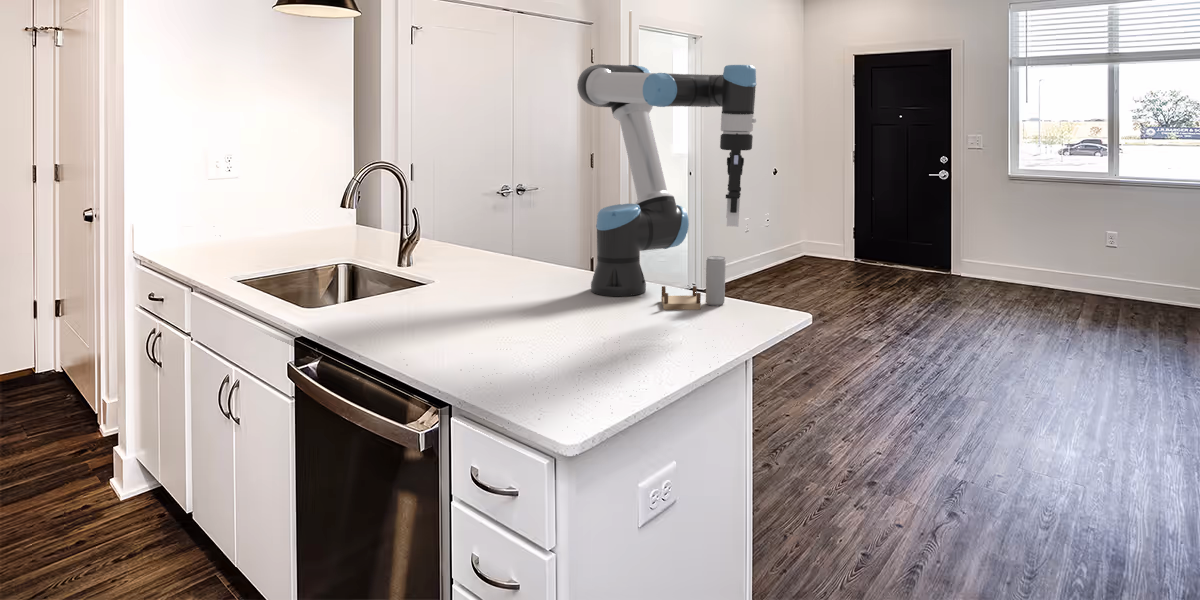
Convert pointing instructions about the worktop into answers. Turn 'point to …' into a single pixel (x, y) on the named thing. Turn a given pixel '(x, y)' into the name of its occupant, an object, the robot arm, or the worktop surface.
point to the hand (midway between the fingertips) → (732, 222)
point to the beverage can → (715, 280)
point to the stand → (681, 301)
